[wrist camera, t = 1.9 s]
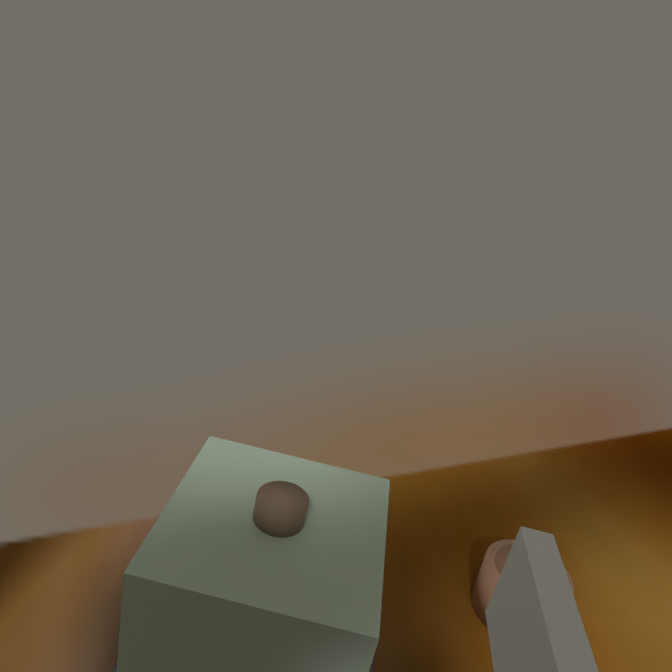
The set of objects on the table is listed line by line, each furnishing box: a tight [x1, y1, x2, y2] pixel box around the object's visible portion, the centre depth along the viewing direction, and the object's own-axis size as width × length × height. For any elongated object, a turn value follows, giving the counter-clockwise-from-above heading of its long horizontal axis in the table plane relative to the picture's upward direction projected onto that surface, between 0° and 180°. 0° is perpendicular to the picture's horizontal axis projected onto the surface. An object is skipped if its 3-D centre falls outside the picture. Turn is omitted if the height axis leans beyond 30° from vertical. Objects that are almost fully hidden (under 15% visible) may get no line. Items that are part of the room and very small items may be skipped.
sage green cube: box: [116, 436, 390, 672], centre depth 28 cm, size 10×10×11 cm
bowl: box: [471, 539, 574, 628], centre depth 37 cm, size 6×6×4 cm
